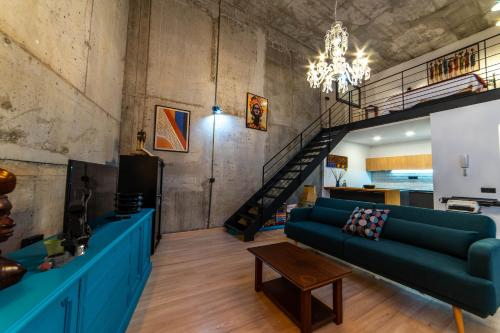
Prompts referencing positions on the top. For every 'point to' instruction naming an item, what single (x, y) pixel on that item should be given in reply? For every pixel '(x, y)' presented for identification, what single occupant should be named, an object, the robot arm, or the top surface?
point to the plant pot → (54, 246)
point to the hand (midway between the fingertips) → (78, 252)
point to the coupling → (79, 250)
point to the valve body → (55, 260)
